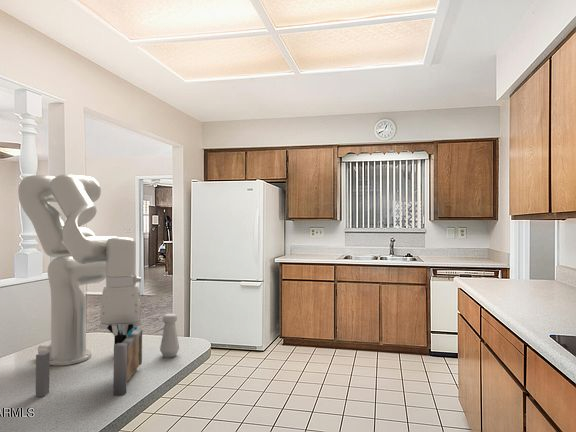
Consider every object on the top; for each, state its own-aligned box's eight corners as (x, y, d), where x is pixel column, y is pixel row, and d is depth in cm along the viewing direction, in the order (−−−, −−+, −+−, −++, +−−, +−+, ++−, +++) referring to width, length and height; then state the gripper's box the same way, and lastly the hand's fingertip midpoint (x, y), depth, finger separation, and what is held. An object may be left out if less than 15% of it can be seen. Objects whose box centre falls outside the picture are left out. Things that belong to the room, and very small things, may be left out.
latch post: (35, 396, 101) (36, 355, 101) (40, 392, 103) (41, 352, 103) (44, 396, 101) (44, 355, 101) (49, 392, 103) (49, 351, 103)
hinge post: (111, 395, 102) (112, 346, 102) (115, 390, 105) (116, 342, 105) (124, 395, 102) (124, 346, 102) (128, 390, 105) (128, 342, 105)
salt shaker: (181, 353, 134) (182, 312, 134) (175, 359, 128) (175, 316, 128) (164, 352, 135) (164, 311, 135) (156, 358, 129) (157, 316, 129)
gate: (126, 383, 105) (126, 345, 105) (118, 384, 105) (118, 345, 105) (141, 363, 120) (142, 329, 120) (134, 363, 120) (135, 329, 120)
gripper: (150, 279, 121) (149, 342, 121) (94, 281, 117) (93, 346, 117) (148, 283, 114) (148, 350, 114) (88, 285, 110) (88, 355, 110)
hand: (120, 348), depth 115 cm, fingers closed
